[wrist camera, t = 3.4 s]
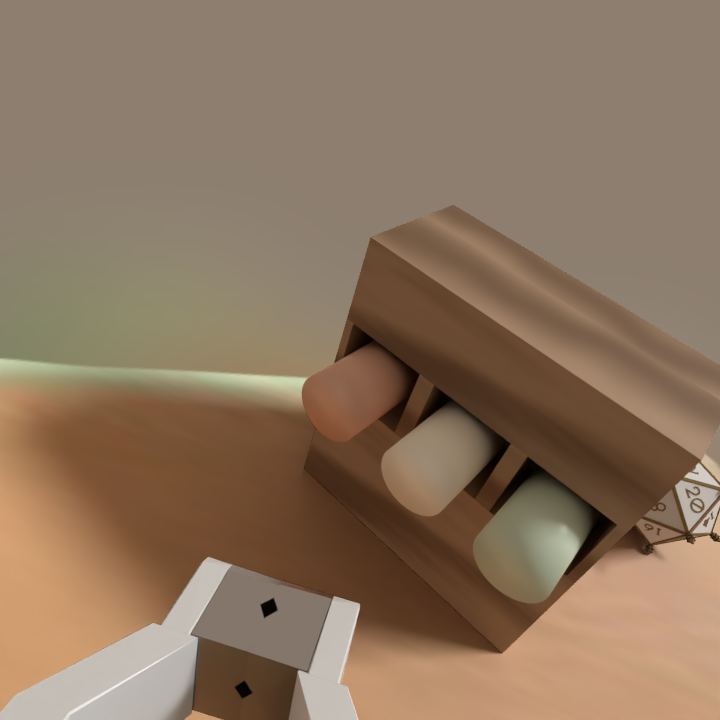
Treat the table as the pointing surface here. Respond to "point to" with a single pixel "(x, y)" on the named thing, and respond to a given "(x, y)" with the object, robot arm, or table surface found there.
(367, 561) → the table surface
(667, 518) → the game die
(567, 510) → the sage button
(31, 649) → the table surface
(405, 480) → the cream button
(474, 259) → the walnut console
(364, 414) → the terracotta button
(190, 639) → the robot arm
